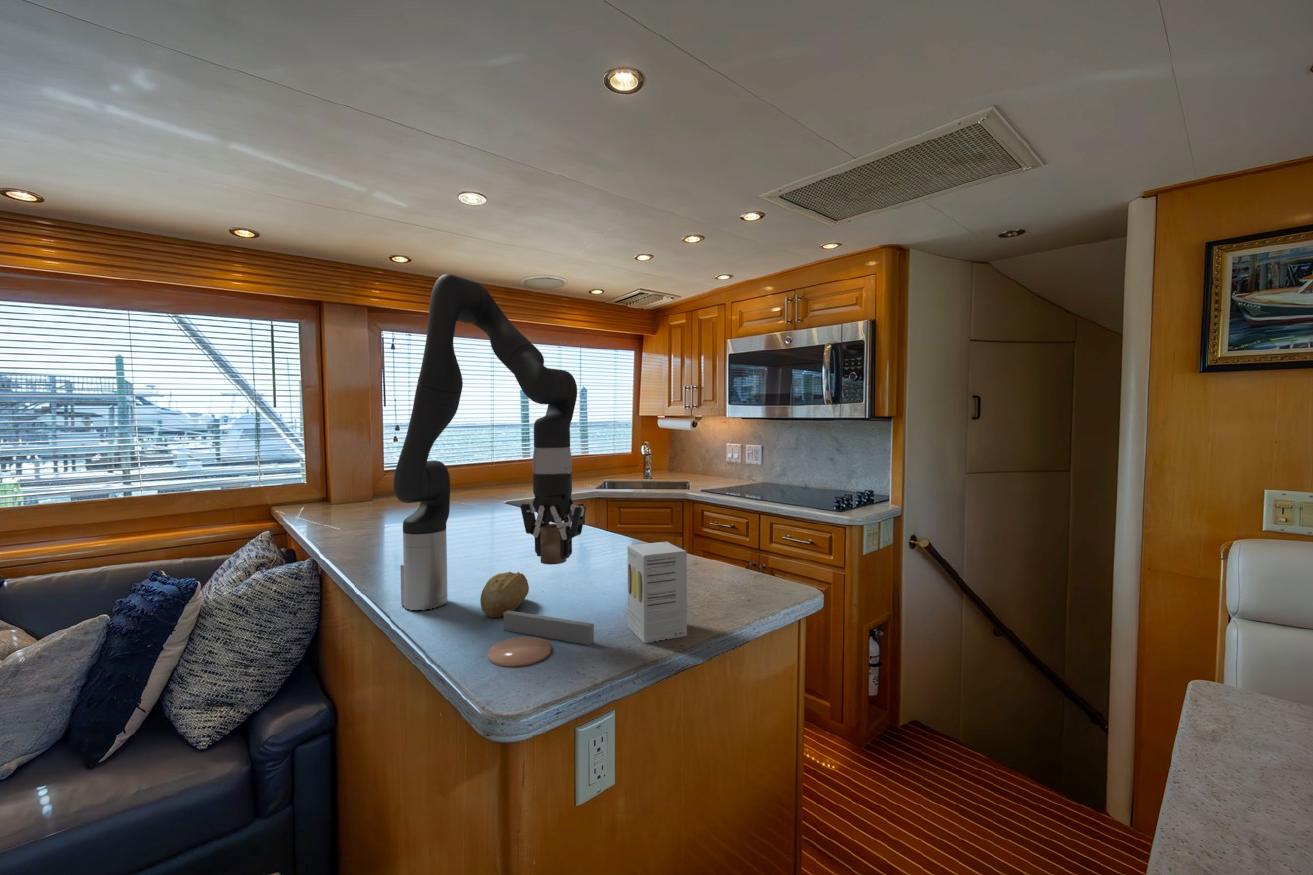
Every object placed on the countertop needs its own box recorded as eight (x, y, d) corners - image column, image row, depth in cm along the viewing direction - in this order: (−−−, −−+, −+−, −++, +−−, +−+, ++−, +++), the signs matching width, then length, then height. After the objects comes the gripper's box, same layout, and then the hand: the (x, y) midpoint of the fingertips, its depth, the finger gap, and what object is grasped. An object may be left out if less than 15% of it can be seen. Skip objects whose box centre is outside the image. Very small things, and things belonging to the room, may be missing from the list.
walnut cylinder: (535, 563, 103) (535, 527, 103) (549, 557, 108) (549, 522, 108) (557, 565, 102) (557, 528, 101) (571, 559, 106) (570, 524, 106)
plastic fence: (503, 629, 107) (503, 612, 107) (508, 627, 109) (508, 610, 109) (589, 645, 99) (589, 626, 99) (593, 642, 101) (593, 623, 101)
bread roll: (536, 598, 128) (535, 564, 127) (517, 620, 113) (516, 583, 113) (496, 597, 128) (496, 564, 128) (472, 620, 113) (472, 583, 113)
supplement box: (626, 627, 108) (625, 544, 108) (668, 620, 112) (667, 540, 111) (644, 644, 99) (643, 554, 99) (688, 636, 103) (687, 549, 103)
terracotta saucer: (474, 660, 93) (474, 655, 93) (514, 637, 103) (514, 633, 103) (526, 671, 89) (526, 666, 89) (562, 646, 99) (562, 641, 99)
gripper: (510, 471, 104) (511, 558, 104) (574, 473, 98) (575, 564, 99) (532, 468, 111) (533, 549, 111) (593, 469, 105) (594, 555, 106)
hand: (553, 556), depth 105 cm, fingers closed on walnut cylinder, 5 cm apart
